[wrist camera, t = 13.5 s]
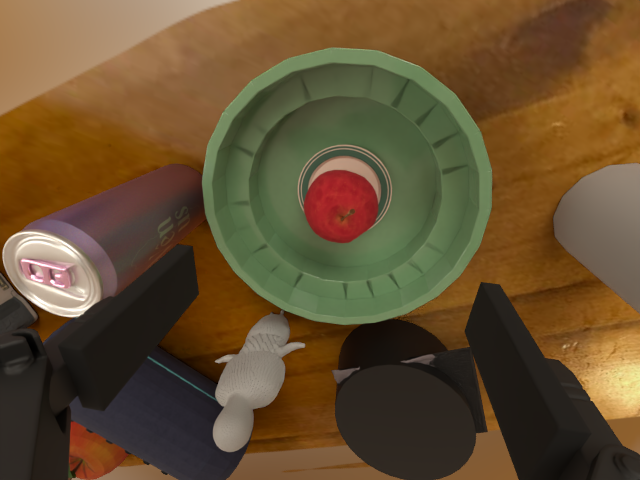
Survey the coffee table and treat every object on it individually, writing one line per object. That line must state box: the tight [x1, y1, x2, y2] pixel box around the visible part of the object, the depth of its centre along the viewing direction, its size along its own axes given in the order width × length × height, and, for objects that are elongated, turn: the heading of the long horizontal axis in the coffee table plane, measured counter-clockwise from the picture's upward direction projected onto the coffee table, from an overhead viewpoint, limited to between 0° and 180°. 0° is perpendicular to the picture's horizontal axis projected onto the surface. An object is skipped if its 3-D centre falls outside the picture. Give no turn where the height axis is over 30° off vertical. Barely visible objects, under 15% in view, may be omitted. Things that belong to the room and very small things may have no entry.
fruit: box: [68, 421, 128, 480], centre depth 44 cm, size 10×10×10 cm
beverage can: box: [3, 164, 207, 317], centre depth 25 cm, size 6×6×15 cm
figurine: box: [213, 310, 305, 452], centre depth 30 cm, size 10×4×15 cm, turn 110°
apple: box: [298, 145, 392, 243], centre depth 25 cm, size 8×8×6 cm
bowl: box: [202, 48, 492, 325], centre depth 26 cm, size 21×21×6 cm
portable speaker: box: [43, 317, 254, 480], centre depth 38 cm, size 25×10×10 cm, turn 51°
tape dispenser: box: [331, 319, 488, 480], centre depth 35 cm, size 14×18×8 cm
